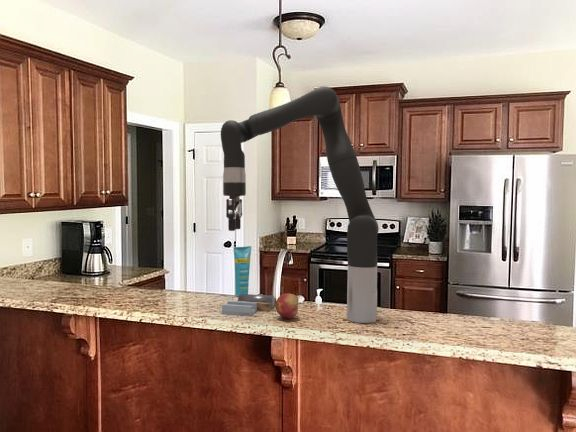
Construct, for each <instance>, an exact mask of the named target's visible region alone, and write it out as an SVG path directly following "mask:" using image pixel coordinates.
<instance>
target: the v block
mask: <svg viewBox="0 0 576 432" xmlns="http://www.w3.org/2000/svg"><path fill="white" fill-rule="evenodd" d="M257 312H258V310H257V303H256V302H241V301H238V300H228V301H227V302H226V303H223V304H221V314H222V315H232V316H244V317H245V316H247V317H252V316H254V314H255V313H257Z"/></svg>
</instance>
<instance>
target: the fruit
mask: <svg viewBox="0 0 576 432" xmlns="http://www.w3.org/2000/svg"><path fill="white" fill-rule="evenodd" d="M274 307H275V310H276V312H277V314H278V315H279V316H281V317H282V318H283V319H286V320H289V319H294V317H296V316H297V314H298V311H299V297H298V296H297V295H295V294H293V293H282V294H281V295H279V297H278V298H276V303H275V306H274Z"/></svg>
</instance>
